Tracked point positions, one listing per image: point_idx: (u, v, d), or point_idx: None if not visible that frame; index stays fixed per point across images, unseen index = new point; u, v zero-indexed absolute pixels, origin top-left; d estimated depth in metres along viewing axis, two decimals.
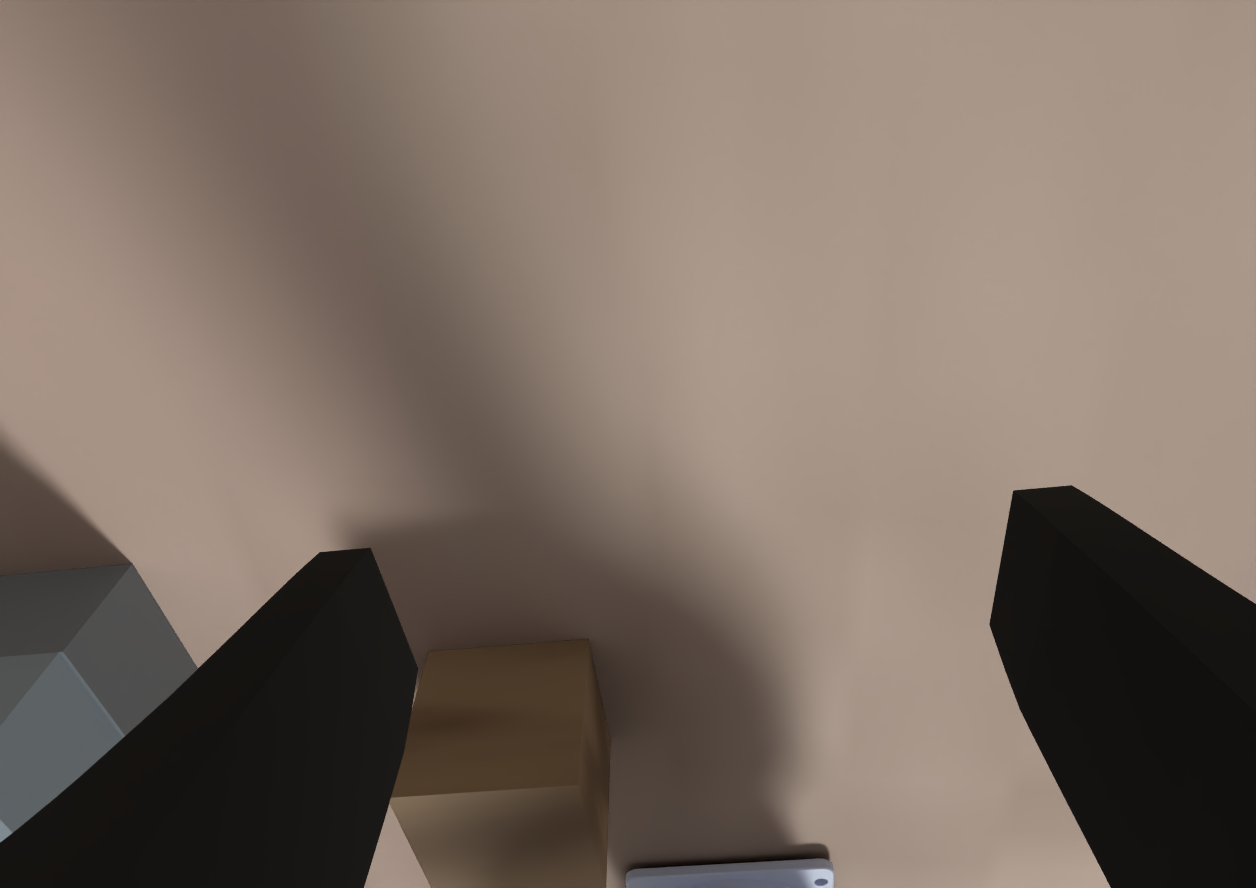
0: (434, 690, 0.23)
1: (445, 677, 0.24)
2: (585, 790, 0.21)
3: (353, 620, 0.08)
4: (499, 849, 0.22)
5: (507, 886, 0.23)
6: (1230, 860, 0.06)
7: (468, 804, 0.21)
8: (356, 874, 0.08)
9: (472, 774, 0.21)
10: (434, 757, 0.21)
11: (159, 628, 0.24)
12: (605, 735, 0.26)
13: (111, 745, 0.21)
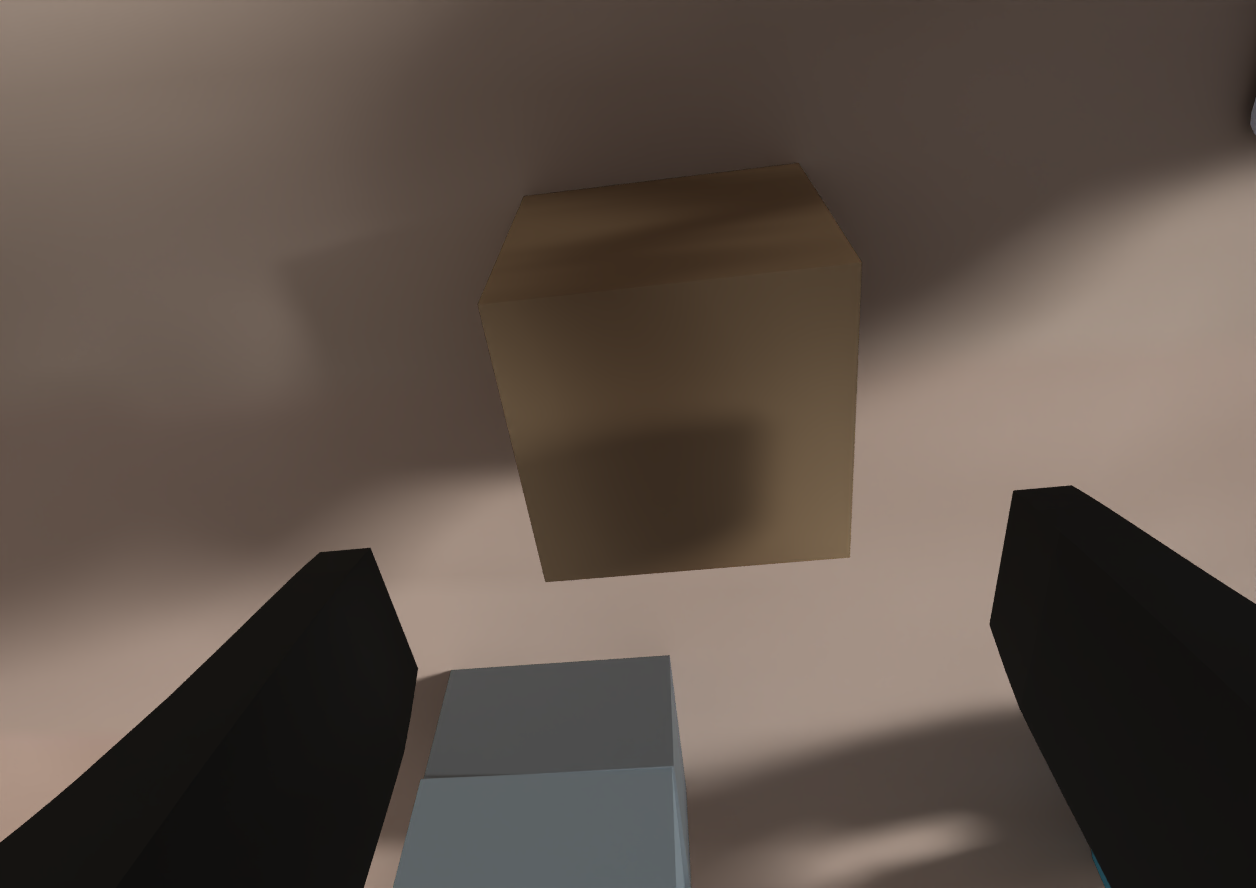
0: None
1: None
2: (553, 282, 0.11)
3: (353, 620, 0.08)
4: (695, 448, 0.12)
5: (824, 447, 0.12)
6: (1230, 860, 0.06)
7: (554, 481, 0.12)
8: (356, 874, 0.08)
9: None
10: None
11: (528, 678, 0.21)
12: (739, 179, 0.14)
13: (553, 787, 0.18)
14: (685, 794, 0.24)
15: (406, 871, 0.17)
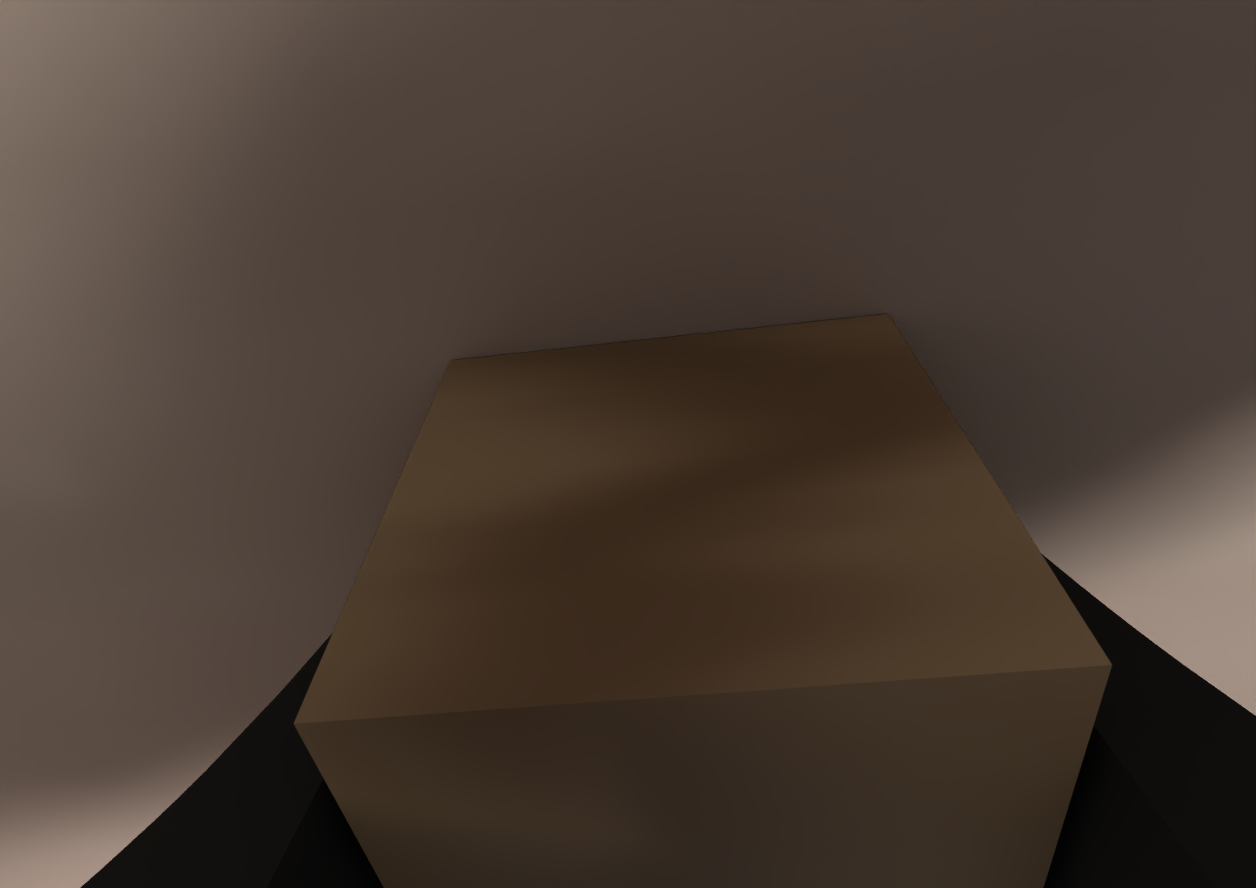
0: None
1: None
2: (457, 653, 0.05)
3: None
4: None
5: None
6: (1079, 868, 0.06)
7: None
8: None
9: None
10: None
11: None
12: (797, 351, 0.08)
13: None
14: None
15: None
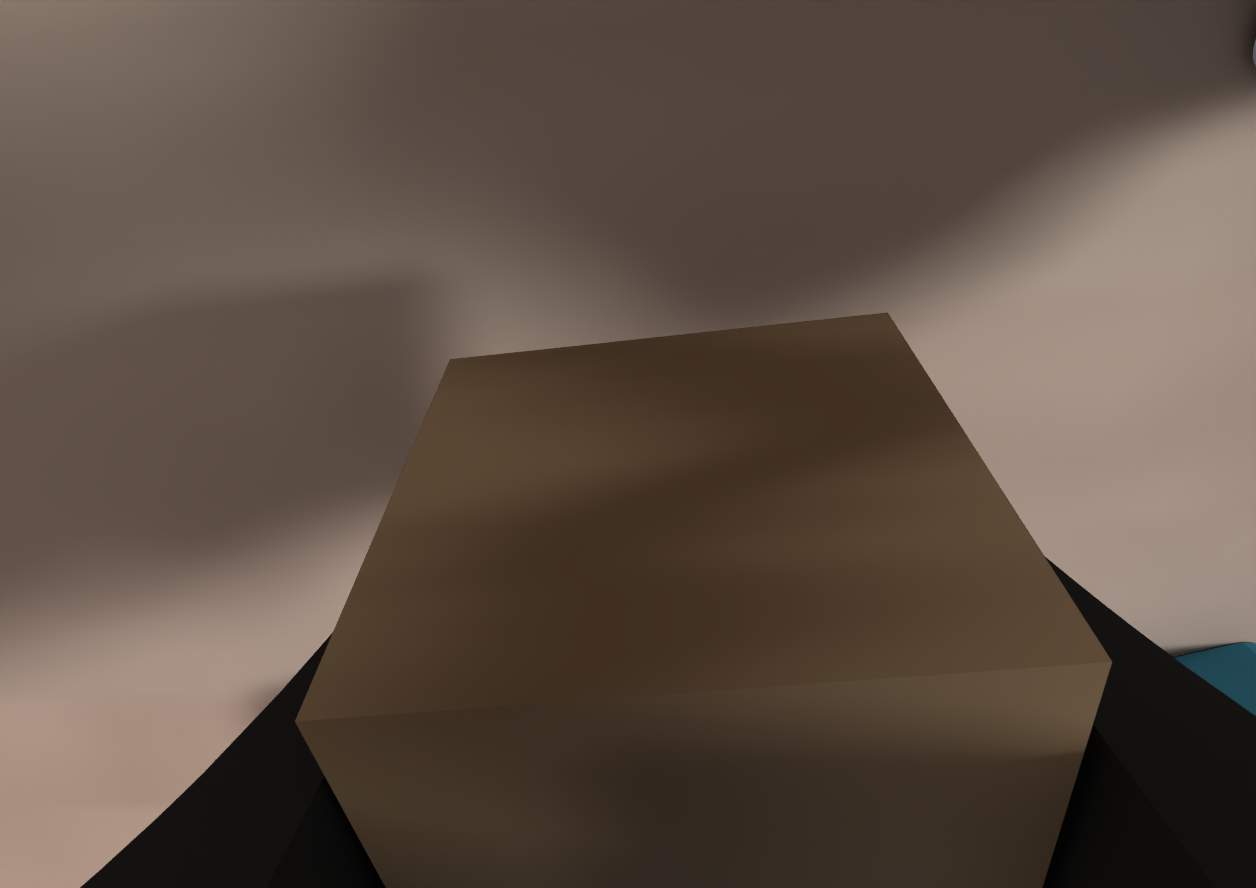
0: None
1: None
2: (458, 651, 0.05)
3: None
4: None
5: None
6: (1079, 868, 0.06)
7: None
8: None
9: None
10: None
11: None
12: (796, 350, 0.08)
13: None
14: None
15: None
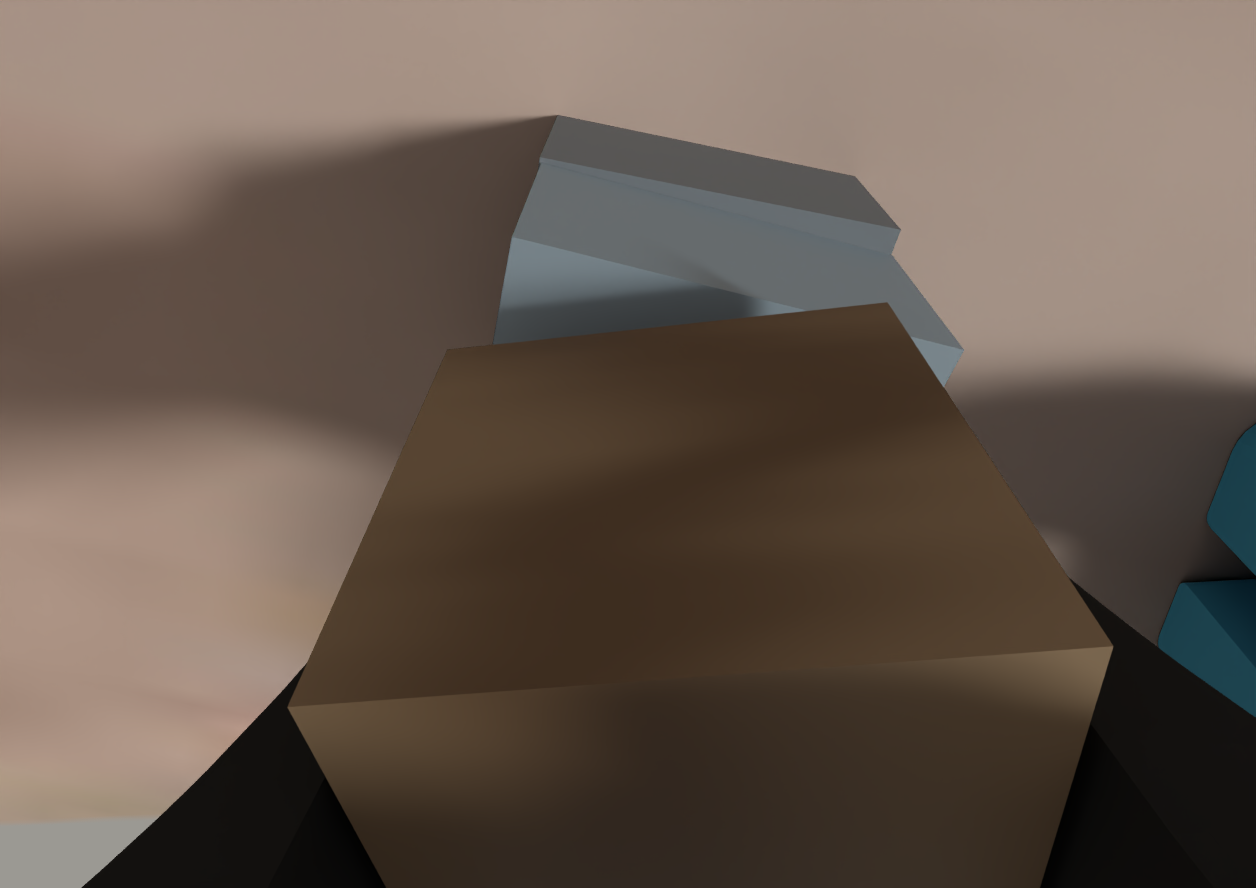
0: None
1: None
2: (452, 637, 0.05)
3: None
4: None
5: None
6: (1077, 868, 0.06)
7: None
8: None
9: None
10: None
11: (670, 143, 0.15)
12: (796, 339, 0.08)
13: (737, 221, 0.13)
14: None
15: (539, 209, 0.11)
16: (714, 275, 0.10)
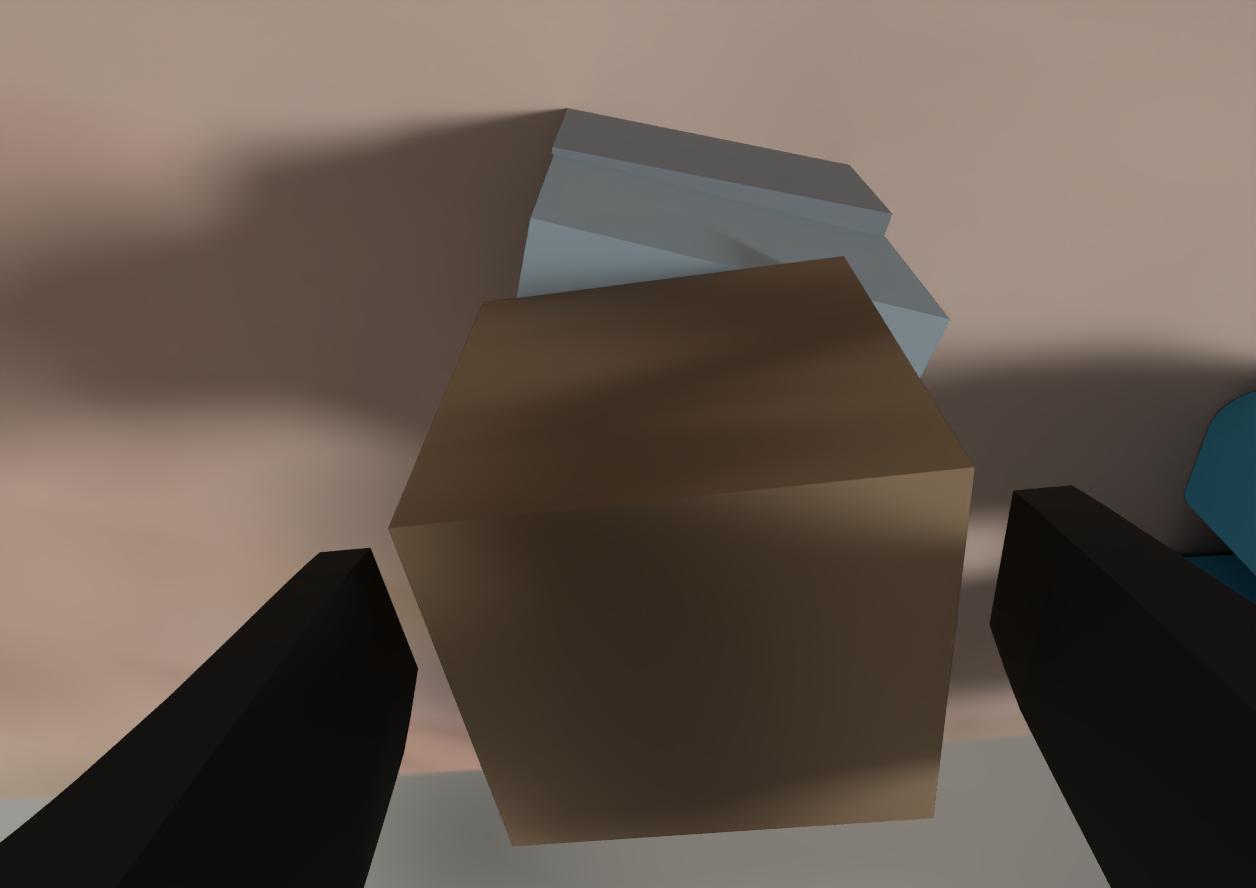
0: None
1: None
2: (504, 484, 0.07)
3: (353, 620, 0.08)
4: (717, 699, 0.08)
5: (904, 695, 0.08)
6: (1230, 860, 0.06)
7: (518, 737, 0.09)
8: (356, 874, 0.08)
9: None
10: None
11: (674, 134, 0.16)
12: (767, 285, 0.10)
13: (738, 206, 0.13)
14: None
15: (554, 194, 0.12)
16: (716, 252, 0.11)
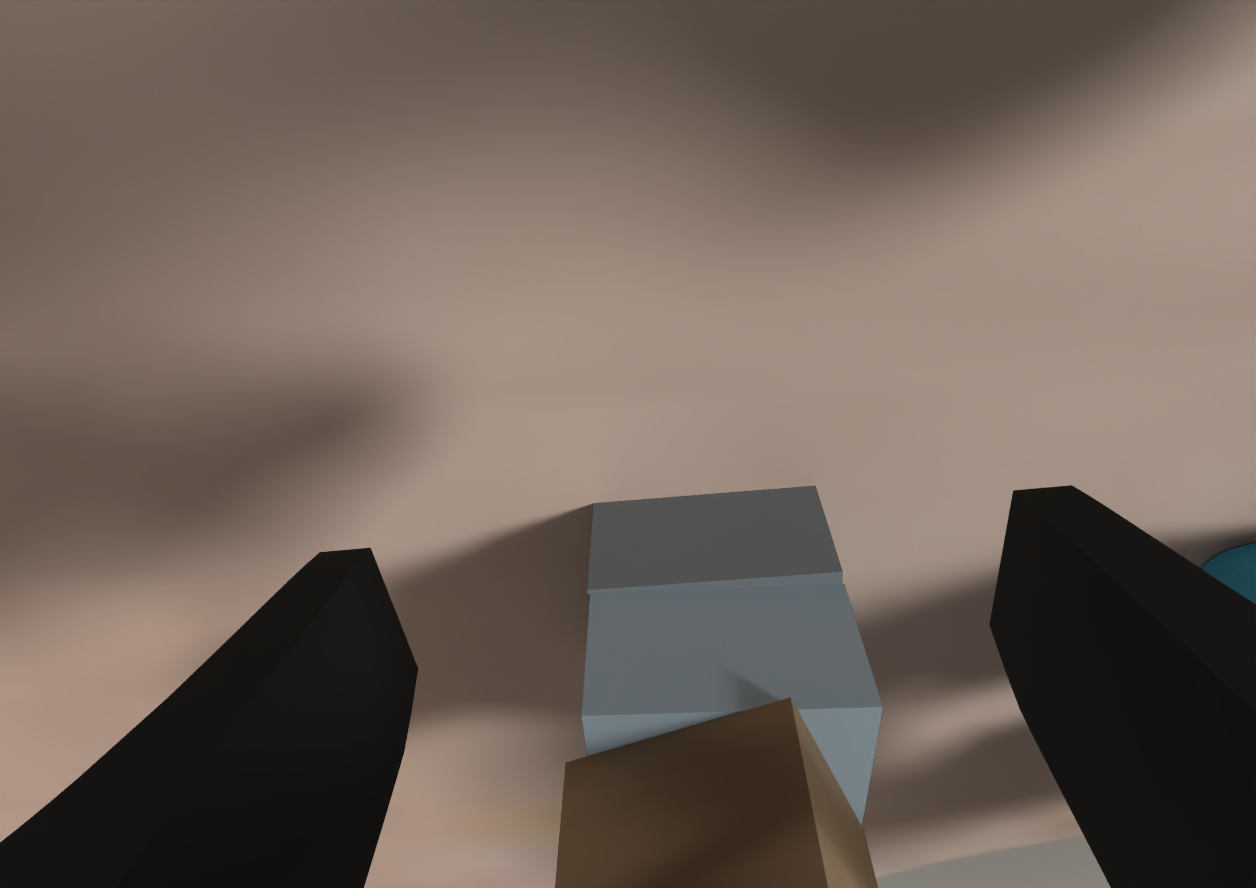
0: None
1: None
2: None
3: (353, 620, 0.08)
4: None
5: None
6: (1230, 860, 0.06)
7: None
8: (356, 874, 0.08)
9: None
10: None
11: (675, 508, 0.21)
12: (741, 741, 0.15)
13: (727, 599, 0.18)
14: None
15: (594, 665, 0.17)
16: (709, 694, 0.16)
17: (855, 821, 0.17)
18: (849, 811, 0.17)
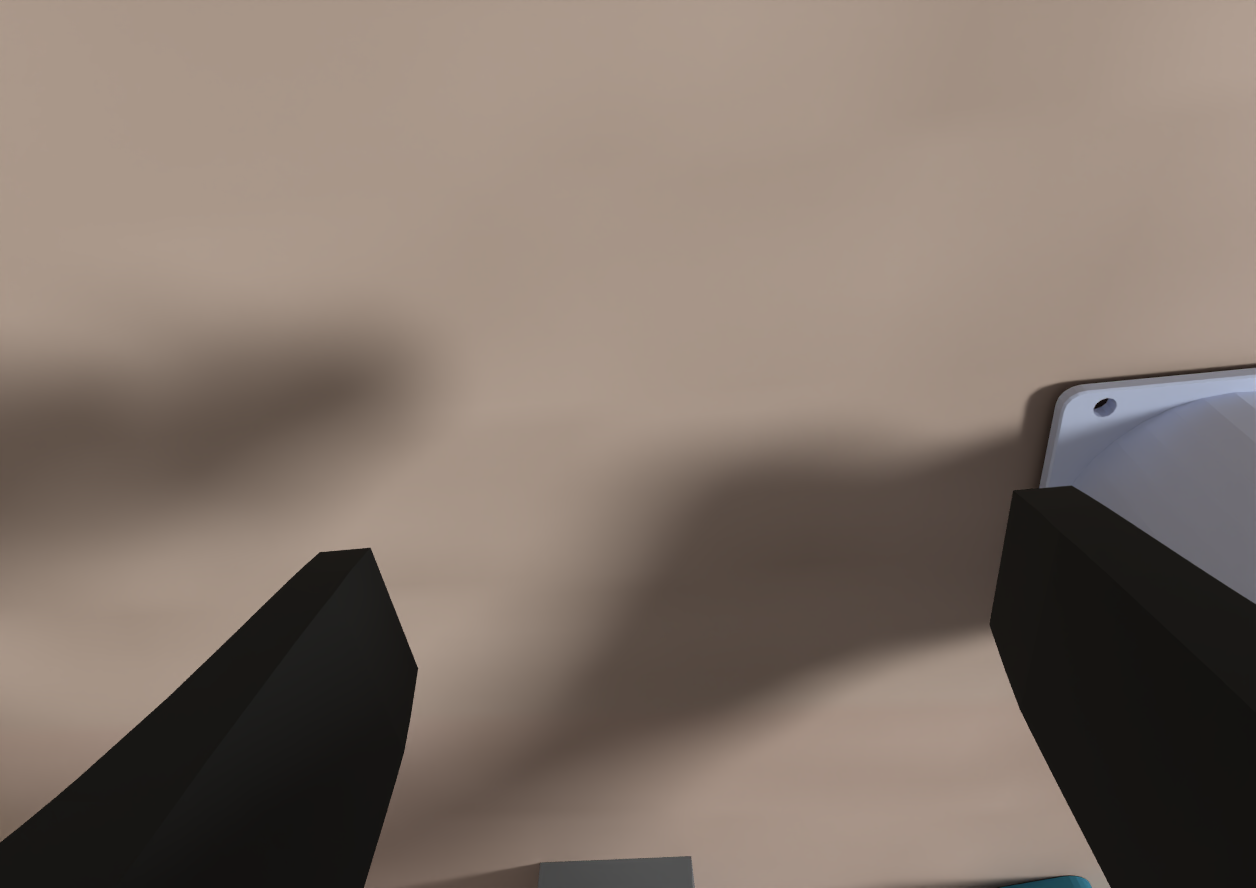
0: None
1: None
2: None
3: (353, 620, 0.08)
4: None
5: None
6: (1230, 860, 0.06)
7: None
8: (356, 874, 0.08)
9: None
10: None
11: (594, 873, 0.31)
12: None
13: None
14: None
15: None
16: None
17: None
18: None
